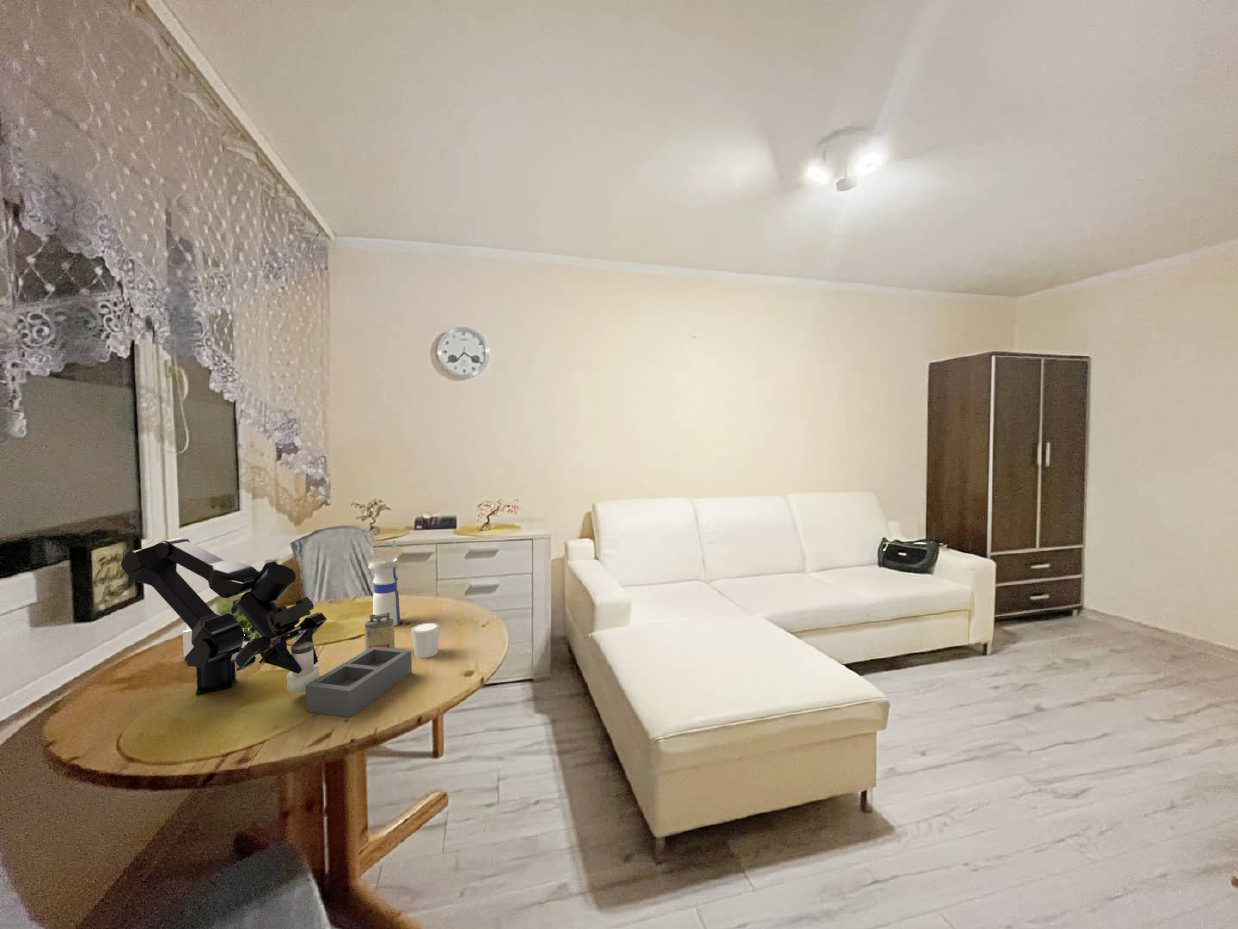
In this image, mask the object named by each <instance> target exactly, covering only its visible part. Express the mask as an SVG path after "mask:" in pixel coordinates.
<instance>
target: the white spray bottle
mask: <svg viewBox="0 0 1238 929" xmlns="http://www.w3.org/2000/svg"><path fill="white" fill-rule="evenodd" d="M389 544H390V545H391V550H394V549H395V550H398V546H399V542H396V540H395V539H393V541H392V542H389ZM398 560H399V559H398V558H396V557H394V559H393V560H392V561H391V562H386V561H385V559H384V558H381V557H380V558H376V559H373V560H371V561H370V562H369V565H368V567H367V569H370V570H373V572H374V578H373V580H372V583H373V590H374V591H373V594H372V615H379V614H385V613H387V612H390V618H391V619H393V622H394V627H395V626H397V625H399V624H400V623H401V611H400V595H399V591H398V580H399V577H398V576H397V573H396V569H398V568H399V567H400V566H399V561H398ZM382 619H387V618H382ZM373 620H376V619H373Z"/></svg>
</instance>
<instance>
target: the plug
mask: <svg viewBox="0 0 1238 929" xmlns="http://www.w3.org/2000/svg"><path fill="white" fill-rule="evenodd" d="M313 645H314V642H301V643H297V644H295V645H292V646H290V654H291V655H292V656H293V657H294V659H295V660H296V661H297V663H298V664H299V665H300V667H301V669H302V671H301V672H300V673H298V674H297V673H295V672H292V671H289V672H288V673H287V675H286V690H287V692H288V693H291V694H300V693H306V685H307V684H309V683H311V682H312V681H314V680H316V679H317V678H319V677H321V675H320V668H319V666H315V665H314V657H313Z"/></svg>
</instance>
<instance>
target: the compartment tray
mask: <svg viewBox="0 0 1238 929" xmlns="http://www.w3.org/2000/svg"><path fill="white" fill-rule="evenodd" d="M412 666H413V665H412V650H411V649H401V648H395V649H393V648H383V647H371V648H369V649H368V650H366V651H362V652H361V653H359V654H356V656H353V657H352V658H351V659H348V660H347V661H345V662H343V663H342V664H339V665H338V666H336V667H334V668H332V669H331V670H329V671H328V672H326V673H324V674H323V675H320V677H319V678H317V679H316V680H314V681H312V682H311V683H309V684H307V685H306V691H305V703H306V705H305V706H306V712H307V711H312V712H311V713H314V712H315V713H314V714H322V715H323V714H324V715H328V716H330V715H331V716H336V717H342V718H343V717H344V718H352V717H353V716H355V715H357V714H358V713H359V712H360V711H362V710H363V709H364V708H366V707H367V706H368V705H370V704H371V703H372V702H374V701H375V700H377V699H378V698H379V697H381V696H382V695H384V694H385V693H386V692H387V691H389V690H390V689H392V688H394V686H396V685H398V683H400V682H401V681H403V680H404V679H406V678H407V677H408V676H410V675H411V674H412V670H413V668H412Z"/></svg>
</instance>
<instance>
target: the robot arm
mask: <svg viewBox="0 0 1238 929" xmlns="http://www.w3.org/2000/svg"><path fill="white" fill-rule="evenodd" d="M178 565H179V566H181V567H183V568H185V569H187V570H188V571H190V572H191V573H194V574H196V575H198V576H199V577H201V578H203V579H205V580H206V581H207V583H208V587H209V589H210V590H211V591H212V592H214V593H215V594H216V595H218V596H219V597H220V598H223V599H229V598H232V597H236V596H239V595H241V594H242V595H241V597H239V598H238V599H235V600H234V599H233V601H232V607H231V609H230V612H228V613H225V614H221V615H219V614H217V613H215V612H214V611H213V610H212V608H211V607H210V606H209V605H208V603H206V602H205V601H204V600H203V599H202V598H201V597H200V595H199V594H198V593H197V592H196V591H195V589H193V588H192V586H191V585H190V584H189V583H188V582H187V581H186V580H185V579H184V578H183V577H182V576H181V575H180V573H179V572H178V571H177V568H178ZM120 566H121V568H122V571H124V573H125V574H126V575H127V576H129V577H130V578H132V579H133V580H134V581H135V582H138V583H142V584H145V585H148V586H151V587H153V589H154V590H155V591H156V592H157V593H158V594H159V595H160V597H161V598H163V600H164V601H165V602H166V604H168V605H169V606H170V608H171V609H172V610H173V611H174V612H175V613H176V615H178V616H179V617H180V619H181V620H182V621H183V622H184V623H185V624H187V625H188V626H189V627H190V629H191V630H192V640H191V643H192V645H193V646H194V647H193V648H192V650H191V651H190V652H189V653H188V654H187V655H186V657H185V662H186V666H188V667H194V668H195V671H196V690H195V693H196V694H195V695H198V694H197V693H201V694H203V693H204V694H205V693H209V691H210V692H214V691H219V689H220V690H223V689H222V688H224V689H228V688H227V687H229V688H232V687H233V685H234V682H236V681H237V678H238V670H237V669H238V668H240V669H241V670H242V669H245V668H247V667H249V666H251V665H254V663H255V661H256V659H257V657H256V656H257V655H260V657H261V659H260V660H259V661H258V663H259V664H260V665H261V664H263V663H264V664H268V665H272V666H276V667H279V668H281V669H285V670H287V671H289V672H291V671H292V672H295V673H297V674H298V673H300V672H301V671H302V669H301V667H300V665H299V664H298V663H297V661H296V660H295V659H294V657H293V656H292V654H291V651H289V649H288V646H287V645H288V644H287V642H288V641H290V640H292V642H293V645H295V644H297V643H301V642H313V641H314V640H313V636H314V634H315V633H316V632H317V631H318V630H319V629H320V628H321V627H322V626H323V625H324V623H326V621H327V620H328V618H327V617H326V615H324V614H323V613H322V612H315V613H313V614H312V613H311V611H312V610H314V608H315V606H314V603H313V601H312V600H311V599H310V598H309V597H308V596H304V597H302V598H301V599H298V600H296V601H295V604H294V605H292V606H290V607H287V606H286V605H281V606H278V604H277V603H276V601H277V600H279V599H281V597H282V596H283V595H284V593H285V592H286V591H287V590H288V589H289V588H290V586H292V584H293V583H294V582H295V581H296V578H297V576H296V572H295V571H294V570H293V568H290V567H288V566H286V565H284V564H279V563H277V562H276V561H275V560H272V561H269V562H266V563H265V564H264V565H263V566H262V569H261V570H257V569H256V568H255V567H254V566H252V565H248V564H245V563H242V562H234V561H226V560H224V559H222V558H221V557H219V556H217V555H214V554H212V553H211V552H209V551H207V550H205V549H204V548H202V547H199V546H198V545H195V544H194V543H192V542H191V541H190V540H189V539H188V538H187V537H182V536H181V537H175V538H171V539H165V540H162V541H161V542H158V543H156V544H153V545H150V546H148V547H144V548H140V549H135V550H130V551H127V553H126V554H125V555H124V557H123V558H122V560H121V563H120ZM238 612H241V614H242V615H243V616H244V617H245V619H246V620H247V621H248V622H249V623H250V624H251V627H250V628H249V631H250V632H251V633H252V634H253V633H258V634H259V636H260V637H257V638H255V639H252V640H251V641H249V642H248V643H247V644H246V645H245V646H242V644H243V640H244V636H245V634H244V630H243V629H244V628H243V627H242V626H241V625H242V623H240V622H239V621H237V619H236V618H235V617H234V614H237V613H238ZM302 618H303V620H302V621H301V620H300V619H302ZM296 625H298V626H296ZM313 643H314V642H313ZM293 645H292V646H293ZM314 645H315V644H313V657H314V666H315V665H316V664H317V663H319V660H318V656H317V653H316V652H317V651H316V649H315V646H314ZM235 654H236V656H235V659H234V655H235ZM237 666H238V668H237Z"/></svg>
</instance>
